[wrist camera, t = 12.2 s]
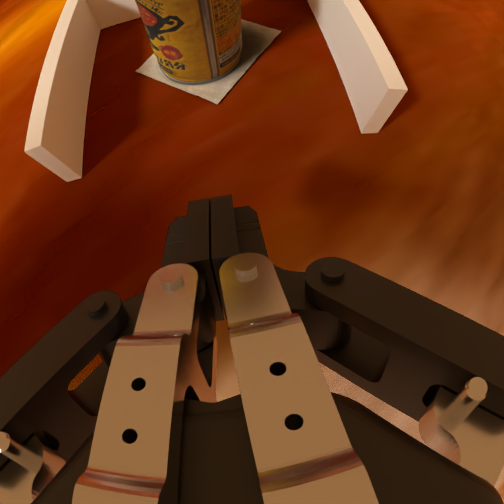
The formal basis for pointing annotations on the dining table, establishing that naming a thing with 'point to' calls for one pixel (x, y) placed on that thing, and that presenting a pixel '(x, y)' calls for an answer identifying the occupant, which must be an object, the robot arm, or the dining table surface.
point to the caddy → (125, 8)
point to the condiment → (201, 44)
